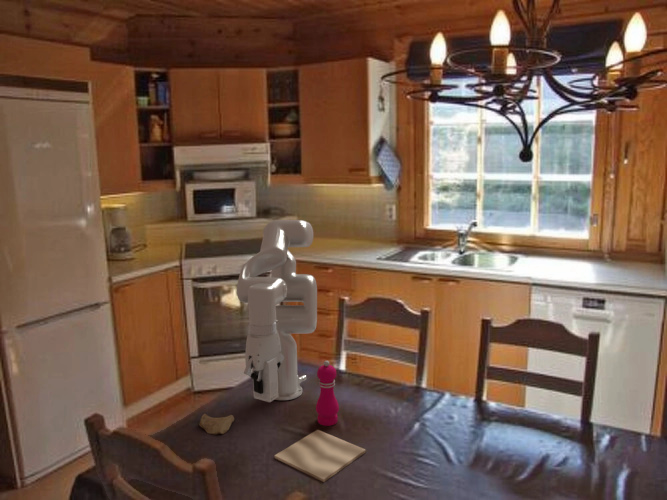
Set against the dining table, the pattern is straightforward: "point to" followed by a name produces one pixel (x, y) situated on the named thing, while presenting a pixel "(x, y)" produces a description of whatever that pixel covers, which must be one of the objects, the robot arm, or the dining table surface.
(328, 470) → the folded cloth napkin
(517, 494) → the dining table surface
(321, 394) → the pepper mill
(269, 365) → the skincare box
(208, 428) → the pottery shard
